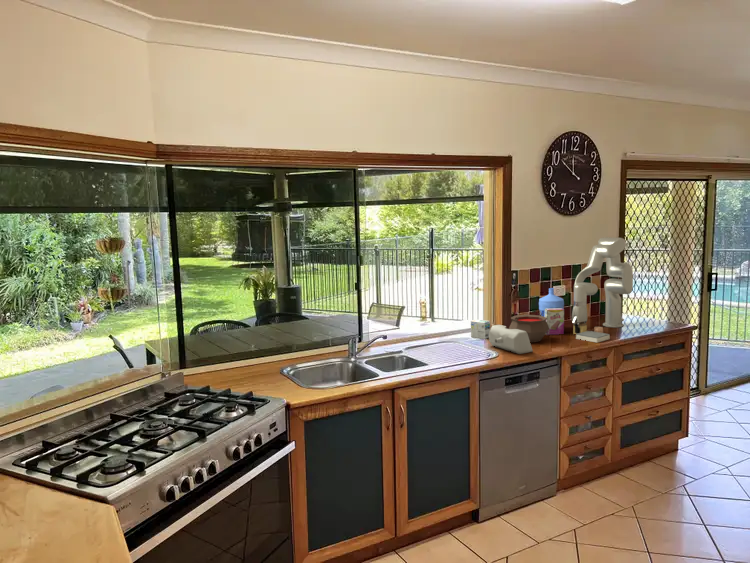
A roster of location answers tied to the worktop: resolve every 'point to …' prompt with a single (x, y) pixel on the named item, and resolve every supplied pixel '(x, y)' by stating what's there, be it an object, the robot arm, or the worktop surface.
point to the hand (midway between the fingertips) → (579, 332)
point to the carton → (582, 328)
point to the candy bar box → (555, 321)
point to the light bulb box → (480, 329)
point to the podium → (593, 336)
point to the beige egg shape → (598, 329)
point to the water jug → (550, 302)
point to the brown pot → (531, 325)
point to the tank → (510, 339)
